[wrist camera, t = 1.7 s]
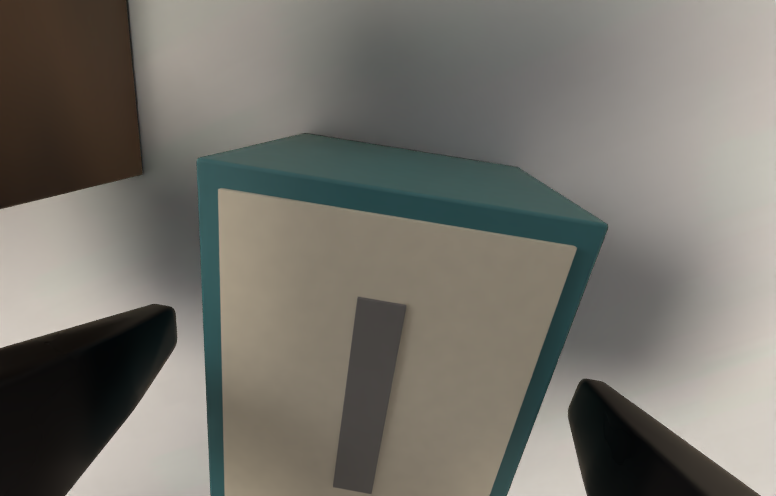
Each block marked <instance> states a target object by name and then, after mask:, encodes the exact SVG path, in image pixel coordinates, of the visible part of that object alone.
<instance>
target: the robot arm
mask: <svg viewBox="0 0 776 496" xmlns="http://www.w3.org/2000/svg"><path fill="white" fill-rule="evenodd" d="M176 343H177V326H176V313H175V310H174V309H173V308H172V307H170V306H165V305H159V304H151V305H148V306H144V307H141V308H137V309H134V310H130V311H127V312H123V313H120V314H117V315H113V316H110V317H106V318H103V319H99V320H96V321H92V322H89V323H85V324H82V325H79V326H75V327H72V328H68V329H65V330H61V331H58V332H54V333H51V334H47V335H44V336H41V337H37V338H34V339H30V340H27V341H23V342H20V343H16V344H13V345H10V346H6V347H3V348H0V496H65V495H66V494H67V493H68V491H69V490H70V489H71V488H72V487H73V485H74V484H75V483H76V482H77V480H78V479H79V478H80V477H81V475H82V474H83V473H84V472H85V470H86V469H87V468H88V467H89V465H90V464H91V463H92V462H93V460H94V459H95V458H96V457H97V455H98V454H99V453H100V452H101V450H102V449H103V448H104V447H105V445H106V444H107V443H108V442H109V440H110V439H111V438H112V437H113V436H114V434H115V433H116V432H117V431H118V429H119V428H120V427H121V426H122V424H123V423H124V422H125V421H126V419H127V418H128V417H129V415H130V414H131V413H132V411H133V410H134V409H135V407H136V406H137V405H138V403H139V402H140V400H141V399H142V397H143V396H144V394H145V393H146V391H147V390H148V388H149V387H150V385H151V384H152V382H153V381H154V379H155V378H156V376H157V374H158V373H159V371H160V370H161V368H162V367H163V365H164V364H165V362H166V361H167V359H168V358H169V356H170V355H171V353H172V352H173V350H174V348H175V346H176ZM568 419H569V424H570V428H571V432H572V436H573V441H574V445H575V449H576V453H577V457H578V462H579V466H580V470H581V474H582V479H583V482H584V486H585V490H586V493H587V496H760V495H759V494H758V493H756V492H755V491H754V490H752V489H751V488H749V487H748V486H747V485H745V484H744V483H743V482H741V481H740V480H738V479H737V478H736V477H734V476H733V475H731V474H730V473H729V472H727V471H726V470H725V469H723V468H722V467H720V466H719V465H718V464H716V463H715V462H714V461H712V460H711V459H709V458H708V457H707V456H705V455H704V454H702V453H701V452H700V451H698V450H697V449H696V448H694V447H693V446H691V445H690V444H689V443H687V442H686V441H685V440H683V439H682V438H680V437H679V436H678V435H676V434H675V433H673V432H672V431H671V430H669V429H668V428H667V427H665V426H664V425H662V424H661V423H660V422H658V421H657V420H656V419H654V418H653V417H651V416H650V415H649V414H647V413H646V412H644V411H643V410H642V409H640V408H639V407H638V406H636V405H635V404H633V403H632V402H631V401H629V400H628V399H627V398H625V397H624V396H622V395H621V394H620V393H618V392H617V391H615V390H614V389H613V388H611V387H610V386H609V385H607V384H606V383H604V382H602V381H597V380H592V379H582V380H581V381H580V382H579V384H578V386H577V389H576V391H575V393H574V396H573V398H572V401H571V403H570V405H569V409H568Z"/></svg>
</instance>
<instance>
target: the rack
mask: <svg viewBox="0 0 776 496" xmlns="http://www.w3.org/2000/svg"><path fill="white" fill-rule="evenodd" d="M142 174H143V172H142V161H141V151H140V140H139V129H138V119H137V108H136V98H135V87H134V77H133V66H132V56H131V45H130V35H129V24H128V14H127V3H126V0H0V209H3V208H7V207H12V206H16V205H20V204H24V203H28V202H32V201H36V200H40V199H44V198H48V197H52V196H57V195H61V194H65V193H69V192H73V191H77V190H81V189H85V188H89V187H93V186H97V185H102V184H106V183H110V182H114V181H118V180H122V179H126V178H130V177H134V176H138V175H142Z"/></svg>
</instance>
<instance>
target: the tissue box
mask: <svg viewBox="0 0 776 496" xmlns="http://www.w3.org/2000/svg"><path fill="white" fill-rule="evenodd" d="M197 186H198V209H199V233H200V257H201V281H202V305H203V329H204V352H205V376H206V400H207V424H208V448H209V472H210V495H211V496H507V494H508V491H509V488H510V486H511V483H512V480H513V478H514V475H515V473H516V470H517V467H518V465H519V462H520V459H521V457H522V454H523V451H524V449H525V446H526V444H527V441H528V438H529V436H530V433H531V430H532V428H533V425H534V422H535V420H536V417H537V414H538V412H539V409H540V407H541V404H542V401H543V399H544V396H545V393H546V391H547V388H548V385H549V383H550V380H551V378H552V375H553V372H554V370H555V367H556V364H557V362H558V359H559V356H560V354H561V351H562V348H563V346H564V343H565V341H566V338H567V335H568V333H569V330H570V327H571V325H572V322H573V319H574V317H575V314H576V312H577V309H578V306H579V304H580V301H581V298H582V296H583V293H584V290H585V288H586V285H587V282H588V280H589V277H590V275H591V272H592V269H593V267H594V264H595V261H596V259H597V256H598V253H599V251H600V248H601V246H602V243H603V240H604V238H605V235H606V232H607V230H608V224H606V223H605V222H603V221H602V220H600V219H598V218H597V217H595V216H594V215H592V214H591V213H589V212H587V211H586V210H584V209H583V208H581V207H580V206H578V205H576V204H575V203H573V202H572V201H570V200H569V199H567V198H565V197H564V196H562V195H561V194H559V193H558V192H556V191H554V190H553V189H551V188H550V187H548V186H547V185H545V184H543V183H542V182H540V181H539V180H537V179H536V178H534V177H532V176H531V175H529V174H528V173H526V172H525V171H523V170H521V169H520V168H518V167H514V166H508V165H502V164H496V163H489V162H483V161H477V160H470V159H464V158H458V157H451V156H445V155H439V154H433V153H426V152H420V151H414V150H407V149H401V148H395V147H388V146H382V145H376V144H370V143H363V142H357V141H351V140H344V139H338V138H332V137H325V136H319V135H313V134H307V133H304V134H299V135H295V136H291V137H286V138H282V139H278V140H274V141H269V142H265V143H261V144H256V145H252V146H248V147H243V148H239V149H235V150H230V151H226V152H222V153H217V154H213V155H209V156H204V157H200V158H198V159H197Z"/></svg>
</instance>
